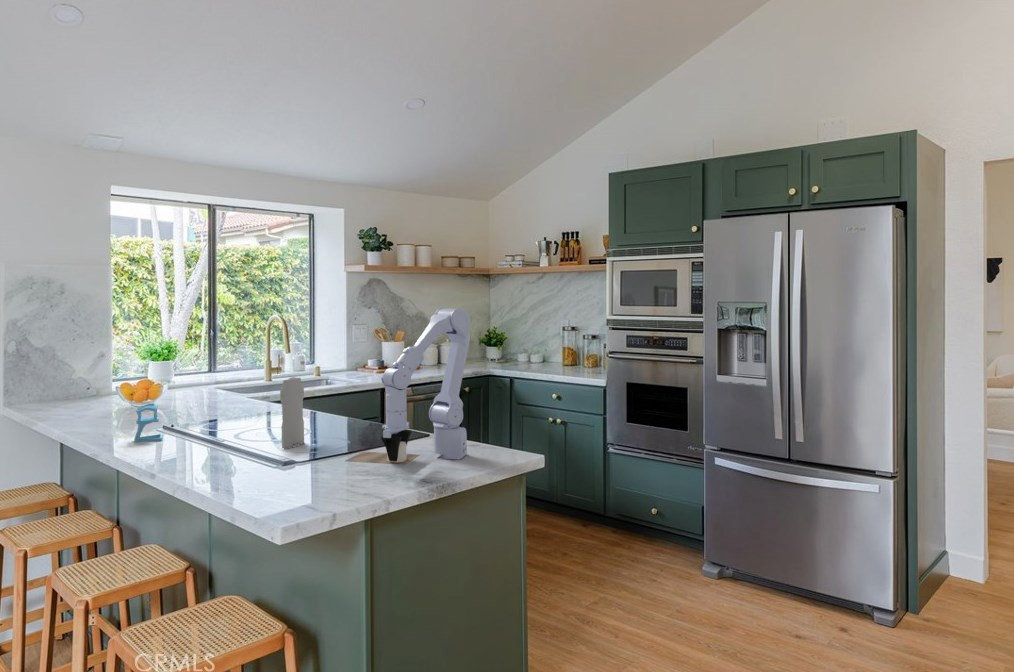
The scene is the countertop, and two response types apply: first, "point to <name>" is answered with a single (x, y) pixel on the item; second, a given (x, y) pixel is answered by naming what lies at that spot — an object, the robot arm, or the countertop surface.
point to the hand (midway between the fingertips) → (396, 458)
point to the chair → (145, 421)
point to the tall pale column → (292, 412)
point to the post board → (378, 458)
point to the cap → (400, 453)
